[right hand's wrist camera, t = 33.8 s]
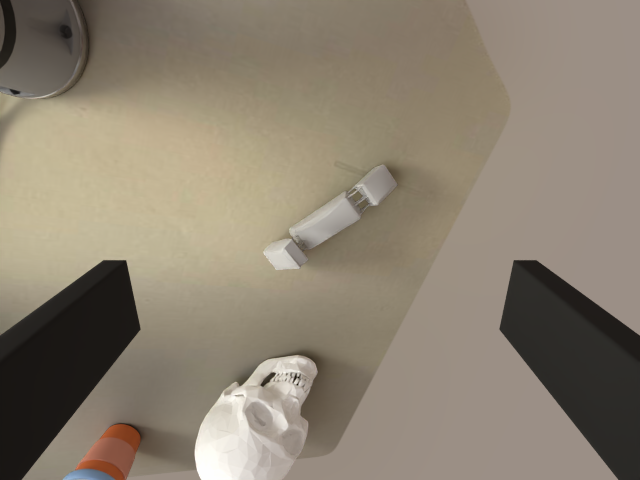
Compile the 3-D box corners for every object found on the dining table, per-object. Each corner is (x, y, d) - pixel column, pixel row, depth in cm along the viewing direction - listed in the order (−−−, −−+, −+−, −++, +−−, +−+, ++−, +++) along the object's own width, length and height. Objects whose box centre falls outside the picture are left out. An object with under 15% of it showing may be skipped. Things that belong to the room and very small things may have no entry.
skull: (340, 372, 60) (343, 460, 45) (258, 445, 65) (236, 543, 51) (278, 325, 57) (259, 401, 42) (198, 405, 63) (157, 497, 48)
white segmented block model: (278, 267, 52) (277, 287, 46) (261, 247, 51) (258, 265, 45) (391, 182, 50) (407, 191, 43) (376, 160, 49) (390, 166, 42)
